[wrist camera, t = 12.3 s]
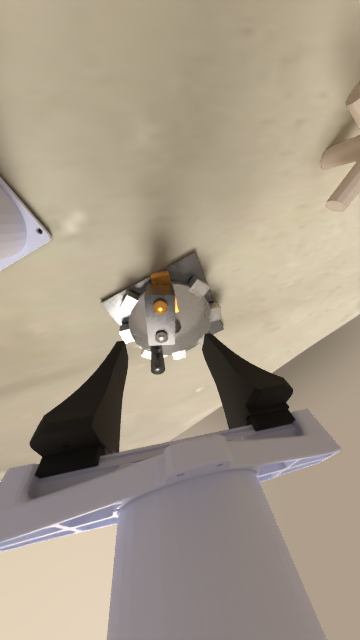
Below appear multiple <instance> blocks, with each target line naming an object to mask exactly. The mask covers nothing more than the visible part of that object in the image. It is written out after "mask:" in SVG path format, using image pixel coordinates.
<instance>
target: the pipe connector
mask: <svg viewBox="0 0 360 640" xmlns="http://www.w3.org/2000/svg"><path fill="white" fill-rule="evenodd" d="M346 106H347V108H348V109H349V111H350V113H351V115H352V116H353V118H354V120H355V122H356V123H357V125H358V127H359V129H360V82H359V83H358V84H357V85H356V86H355V88H354V89H353V90H352V92H351V93H350V94H349V96H348V98H347V100H346ZM356 161H357V162H356ZM352 162H356V164H355V165H354V166H353V168H352V169H351V170H350V171H349V173H348V174H347V175H346V177H345V178H344V179H343V181H342V182H341V183H340V185H339V186H338V187H337V189H336V190H335V191H334V193H333V194H332V195H331V197H330V198H329V199H328V201H327V202H326V203H325V206H326V207H327V208H328V209H330V210H333V211H338V212H340V211H344V210H345V209H346V208H347V207H348V206H349V205H350V203H351V202H352V201H353V200H354V198H355V197H356V196H357V195H358V194H359V192H360V135H359V136H356V137H354V138H351V139H349V140H346V141H344V142H341V143H338V144H336V145H333V146H331V147H329V148H328V149H327V150H326V151H325V152H324V154H323V156H322V158H321V168H322V169H323V170H326V169H330V168H333V167H337V166H341V165H344V164H348V163H352Z"/></svg>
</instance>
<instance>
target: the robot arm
mask: <svg viewBox="0 0 360 640" xmlns="http://www.w3.org/2000/svg"><path fill="white" fill-rule="evenodd" d="M39 228H40V229H41V230H42V231H43V233H42V234H41V233H40V232H39V231H38V229H39ZM51 239H52V237H51V235H50V233H49V232H48V231H47V230H46V229H45V227H44V226H43V225H42V224H41V223H40V222H39V221H38V219H37V218H36V217H35V216H34V215H33V214H32V212H31V211H30V210H29V209H28V208H27V207H26V206H25V204H24V203H23V202H22V201H21V200H20V199H19V198H18V196H17V195H16V194H15V193H14V192H13V191H12V189H11V188H10V187H9V186H8V185H7V184H6V183H5V181H4V180H3V179H2V178H1V177H0V271H1V270H3V269H5V268H6V267H8V266H10V265H11V264H13V263H15V262H16V261H18V260H20V259H21V258H23V257H25V256H26V255H28V254H30V253H31V252H33V251H34V250H36V249H38V248H39V247H41V246H43V245H44V244H46V243H48V242H49V241H51ZM202 351H203V355H204V358H205V361H206V363H207V365H208V367H209V370H210V372H211V374H212V376H213V378H214V381H215V383H216V386H217V389H218V392H219V395H220V398H221V402H222V405H223V408H224V412H225V415H226V419H227V423H228V427H229V430H224V431H219V432H215V433H209V434H205V435H200V436H195V437H191V438H185V439H181V440H176V441H171V442H166V443H161V444H156V445H152V446H147V447H142V448H137V449H132V450H128V451H123V452H119V441H120V423H121V409H122V397H123V391H124V386H125V380H126V375H127V369H128V354H127V349H126V345H125V341H118V342H116V344H115V345H114V347H113V349H112V350H111V352H110V353H109V354H108V356H107V357H106V359H105V360H104V361H103V363H102V364H101V365H100V366H99V368H98V369H97V370H96V371H95V372H94V374H93V375H92V376H91V377H90V378H89V379H88V380H87V381H86V382H85V383H84V384H83V385H82V386H81V387H80V388H79V389H78V390H76V391H75V392H74V393H73V394H72V395H71V396H69V397H68V398H67V399H66V400H65V401H63V402H62V403H61V404H59V405H58V406H57V407H55V408H54V409H53V410H51V411H50V412H49V413H47V414H46V415H44V417H43V419H42V420H41V422H40V423H39V425H38V427H37V429H36V431H35V433H34V435H33V437H32V439H31V441H30V447H31V448H32V449H33V450H34V451H36V452H37V453H38V454H40V455H41V456H42V459H41V462H40V464H29V465H24V466H19V467H14V468H10V469H8V470H7V471H6V473H5V475H4V477H3V479H2V480H1V482H0V552H4V551H8V550H11V549H15V548H19V547H22V546H26V545H30V544H34V543H38V542H42V541H46V540H50V539H54V538H58V537H63V536H67V535H71V534H75V533H80V532H84V531H88V530H92V529H97V528H101V527H105V526H110V525H114V524H118V525H117V535H116V546H115V557H114V568H113V579H112V590H111V602H110V611H109V622H108V633H107V640H327V639H326V637H325V634H324V632H323V630H322V627H321V625H320V623H319V620H318V618H317V616H316V613H315V611H314V609H313V606H312V604H311V602H310V599H309V597H308V595H307V592H306V590H305V588H304V585H303V583H302V581H301V578H300V576H299V574H298V572H297V569H296V567H295V564H294V562H293V560H292V558H291V555H290V553H289V551H288V548H287V546H286V543H285V541H284V539H283V536H282V534H281V532H280V529H279V527H278V525H277V523H276V520H275V518H274V515H273V513H272V511H271V508H270V506H269V504H268V501H267V499H266V497H265V494H264V492H263V490H262V488H261V485H260V482H263V481H265V480H268V479H271V478H274V477H277V476H280V475H283V474H286V473H289V472H292V471H295V470H298V469H301V468H304V467H307V466H311V465H315V464H318V463H321V462H322V461H324V460H326V459H327V458H329V457H331V456H333V455H334V454H336V453H338V452H339V451H341V447H340V446H339V445H338V444H337V443H336V441H335V440H334V439H333V438H332V437H331V436H330V434H329V433H328V432H327V431H326V430H325V429H324V427H323V426H322V425H321V424H320V423H319V421H318V420H317V419H316V418H315V417H314V415H313V414H312V413H311V412H310V411H309V410H308V409H302V410H297V411H293V412H292V413H290V411H289V410H288V408H289V406H288V405H287V403H286V402H287V400H288V399H289V398H290V397H291V395H292V393H293V389H292V387H291V386H290V385H289V384H288V383H287V381H286V380H285V379H284V378H282V377H280V376H277V375H274V374H272V373H269V372H267V371H265V370H263V369H261V368H259V367H257V366H255V365H253V364H251V363H249V362H248V361H246V360H244V359H243V358H241V357H240V356H238V355H237V354H235V353H234V352H233V351H231V350H230V349H229V348H227V347H226V346H225V345H224V344H223V343H221V342H220V341H219V340H218V339H217V338H216V337H215V336H213V335H212V334H211V333H209V334H205V335H204V341H203V347H202Z"/></svg>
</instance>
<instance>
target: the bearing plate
mask: <svg viewBox="0 0 360 640" xmlns="http://www.w3.org/2000/svg"><path fill="white" fill-rule="evenodd" d="M167 270H168V272H169V275H170V280H171V281H179V282H184V283H187V284H188V283H189V282H190V280H191V279H192V277H193V276H194V275H195V276H196V277H198V278H199V279H200V280H202V281H203V282H205V283H206V280H205V277H204V275H203V272H202V269H201V267H200V264H199V261H198V259H197V256H196V253H195V252H193V253H191V254H189V255H188V256H186V257H184V258H182V259H180V260H178V261H176V262H175V263H173V264H171V265H169V266H167V267H165V268H163V269H162V270H160V271H158V272H163V271H167ZM158 272H156V273H158ZM147 284H152V281H151V275H150V276H148V277H147V278H145V279H143V280H141V281H139V282H137V283H135V284H134V285H132V286H130V287H128V288H126V289H124V290H122V291H121V292H119V293H117V294H115V295H113V296H111V297H109V298H108V299H106V300H104V301H102V302H101V303H100V304H101V305H102V306H103V307H104V308H105V309H106V311H107V312H108V313H109V314H110V315H111V316H112V317H113V318H114V319H115V320H116V321H117V323H118V324H119V325H120V326H121V325H124V324H128V323H129V316H130V314H129V313H127V312H124V311H122V310H120V306H121V303H122V301H123V299H124V298H125V296H126V294H127V292H128V290H129V291H131V292H133V293H135V294H137V295H140V293H142V292H143V291H144V290H145V289H146V287H147ZM206 284H207V283H206ZM204 297H205V299H206V300H207V301H208V303H209V304H210V303H214V302H213V299H212V296H211V294H210V291H209V290H208V291H207V293H206V294H205V295H204ZM221 330H223V326H222V323H221V321H220V320H216V321H212V323H211V327H210V329H209V332H210V333H211V334H212V335H213V334H215V333H217V332H219V331H221ZM139 347H140V346H139ZM140 348H141V347H140ZM141 349H142V348H141ZM163 356H164V357H166V356H168V355H163Z"/></svg>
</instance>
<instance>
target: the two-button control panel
mask: <svg viewBox="0 0 360 640" xmlns="http://www.w3.org/2000/svg"><path fill="white" fill-rule="evenodd" d="M144 299H145V310H146V321H147V332H148V343H149V346H155V345H175V292H174V288H173V284H147V287H146V291H145V295H144Z"/></svg>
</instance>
